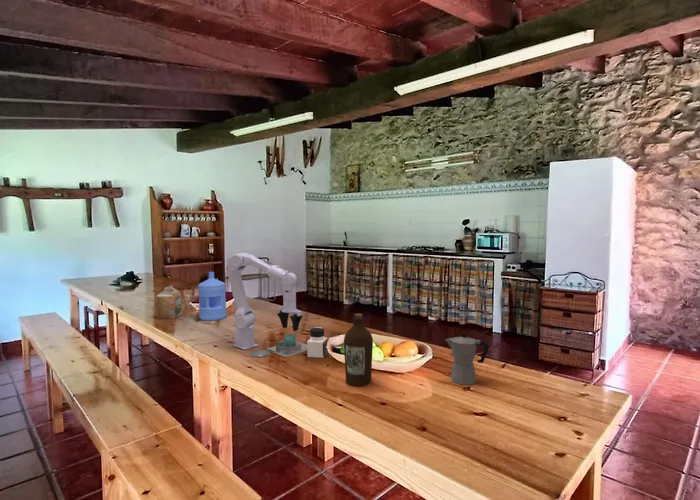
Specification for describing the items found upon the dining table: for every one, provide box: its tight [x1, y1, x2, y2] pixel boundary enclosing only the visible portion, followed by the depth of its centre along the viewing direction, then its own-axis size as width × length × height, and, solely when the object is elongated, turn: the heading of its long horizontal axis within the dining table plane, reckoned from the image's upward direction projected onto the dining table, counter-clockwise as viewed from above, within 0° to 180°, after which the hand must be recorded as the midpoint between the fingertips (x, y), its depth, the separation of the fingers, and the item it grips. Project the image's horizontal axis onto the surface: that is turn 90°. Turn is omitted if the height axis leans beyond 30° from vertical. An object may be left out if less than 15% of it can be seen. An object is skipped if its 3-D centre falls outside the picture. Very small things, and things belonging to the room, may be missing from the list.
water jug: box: [197, 271, 227, 322], centre depth 250 cm, size 16×16×28 cm
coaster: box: [249, 349, 272, 358], centre depth 184 cm, size 9×9×1 cm
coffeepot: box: [445, 331, 490, 386], centre depth 151 cm, size 15×9×18 cm, turn 68°
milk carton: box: [156, 284, 183, 321], centre depth 252 cm, size 11×11×19 cm
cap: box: [280, 333, 297, 346], centre depth 188 cm, size 5×8×4 cm, turn 137°
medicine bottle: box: [306, 326, 328, 359], centre depth 181 cm, size 7×7×12 cm
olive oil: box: [343, 313, 374, 387], centre depth 151 cm, size 11×11×25 cm
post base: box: [266, 339, 307, 358], centre depth 189 cm, size 14×16×5 cm
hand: (290, 329), depth 189 cm, fingers open, 7 cm apart
